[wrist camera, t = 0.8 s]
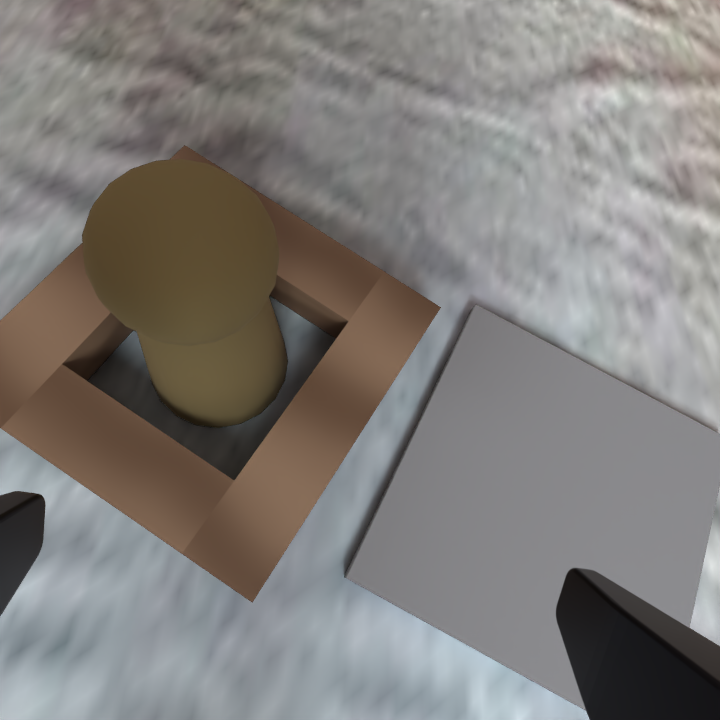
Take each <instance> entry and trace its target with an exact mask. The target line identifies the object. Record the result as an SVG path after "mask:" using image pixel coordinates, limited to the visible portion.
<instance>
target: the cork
mask: <svg viewBox="0 0 720 720" xmlns="http://www.w3.org/2000/svg"><path fill="white" fill-rule="evenodd" d="M82 241H83V257H84V265H85V271H86V274H87V276H88V278H89V280H90V282H91V284H92V287H93V289H94V291H95V293H96V295H97V297H98V298H99V300H100V301H101V302H102V304H103V305H104V306H105V307H106V308H107V309H108V310H109V311H110V312H111V313H112V314H113V315H114V316H115V317H116V318H117V319H118V320H119V321H121V322H122V323H123V324H124V325H125V326H126V327H128V328H130V329H132V330H134V331H137V334H138V337H139V341H140V344H141V347H142V351H143V354H144V358H145V361H146V365H147V368H148V371H149V375H150V378H151V382H152V384H153V386H154V388H155V390H156V392H157V394H158V396H159V398H160V400H161V402H162V403H163V404H164V405H165V406H166V407H167V408H168V409H169V410H171V411H172V412H173V413H174V414H175V415H176V416H177V417H180V418H182V419H184V420H186V421H188V422H190V423H193V424H195V425H199V426H207V427H215V428H220V427H226V426H232V425H237V424H241V423H243V422H245V421H247V420H249V419H251V418H253V417H255V416H257V415H259V414H261V413H262V412H263V411H264V410H265V409H266V408H267V407H268V406H269V405H270V404H271V403H272V402H273V401H274V400H275V399H276V397H277V395H278V393H279V391H280V389H281V387H282V385H283V383H284V381H285V377H286V370H287V363H288V359H287V354H286V349H285V343H284V340H283V337H282V334H281V331H280V328H279V325H278V322H277V319H276V316H275V313H274V310H273V307H272V304H271V301H270V298H269V295H270V293H271V292H272V290H273V288H274V286H275V282H276V276H277V270H278V264H279V247H278V242H277V236H276V231H275V227H274V224H273V222H272V220H271V218H270V216H269V214H268V213H267V211H266V209H265V208H264V206H263V204H262V203H261V201H260V199H259V198H258V196H257V195H256V194H255V193H254V192H253V191H251V190H250V189H249V188H248V187H247V186H246V185H244V184H243V183H242V182H241V181H240V180H239V179H237V178H236V177H234V176H233V175H231V174H229V173H227V172H225V171H223V170H221V169H219V168H216V167H214V166H212V165H210V164H208V163H202V162H196V161H191V160H185V159H175V160H161V161H154V162H151V163H148V164H145V165H142V166H139V167H136V168H133V169H131V170H129V171H128V172H126V173H125V174H123V175H122V176H120V177H119V178H117V179H116V180H114V181H113V182H111V183H110V184H109V185H108V186H107V188H106V189H105V190H104V191H103V193H102V194H101V195H100V197H99V198H98V199H97V200H96V202H95V203H94V205H93V206H92V208H91V210H90V213H89V216H88V219H87V222H86V225H85V228H84V231H83V234H82Z"/></svg>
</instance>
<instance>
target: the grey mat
mask: <svg viewBox="0 0 720 720" xmlns="http://www.w3.org/2000/svg"><path fill="white" fill-rule="evenodd" d="M719 487H720V434H719V433H717V432H715V431H713V430H712V429H710V428H708V427H706V426H704V425H702V424H700V423H698V422H696V421H695V420H693V419H691V418H689V417H687V416H685V415H683V414H681V413H680V412H678V411H676V410H674V409H672V408H670V407H668V406H666V405H664V404H663V403H661V402H659V401H657V400H655V399H653V398H651V397H649V396H648V395H646V394H644V393H642V392H640V391H638V390H636V389H634V388H632V387H631V386H629V385H627V384H625V383H623V382H621V381H619V380H617V379H616V378H614V377H612V376H610V375H608V374H606V373H604V372H602V371H600V370H599V369H597V368H595V367H593V366H591V365H589V364H587V363H585V362H583V361H582V360H580V359H578V358H576V357H574V356H572V355H570V354H568V353H567V352H565V351H563V350H561V349H559V348H557V347H555V346H553V345H551V344H550V343H548V342H546V341H544V340H542V339H540V338H538V337H536V336H535V335H533V334H531V333H529V332H527V331H525V330H523V329H521V328H519V327H518V326H516V325H514V324H512V323H510V322H508V321H506V320H504V319H503V318H501V317H499V316H497V315H495V314H493V313H491V312H489V311H487V310H486V309H484V308H482V307H480V306H478V305H475V306H474V307H473V308H472V310H471V312H470V314H469V316H468V318H467V320H466V322H465V324H464V326H463V328H462V331H461V333H460V335H459V337H458V339H457V341H456V343H455V345H454V347H453V349H452V352H451V354H450V356H449V358H448V360H447V362H446V364H445V366H444V368H443V370H442V373H441V375H440V377H439V379H438V381H437V383H436V385H435V387H434V389H433V391H432V394H431V396H430V398H429V400H428V402H427V404H426V406H425V408H424V410H423V413H422V415H421V417H420V419H419V421H418V423H417V425H416V427H415V429H414V431H413V434H412V436H411V438H410V440H409V442H408V444H407V446H406V448H405V450H404V452H403V455H402V457H401V459H400V461H399V463H398V465H397V467H396V469H395V471H394V473H393V476H392V478H391V480H390V482H389V484H388V486H387V488H386V490H385V492H384V494H383V497H382V499H381V501H380V503H379V505H378V507H377V509H376V511H375V513H374V516H373V518H372V520H371V522H370V524H369V526H368V528H367V530H366V532H365V534H364V537H363V539H362V541H361V543H360V545H359V547H358V549H357V551H356V553H355V555H354V558H353V560H352V562H351V564H350V566H349V568H348V570H347V572H346V574H345V576H344V577H345V578H347V579H349V580H351V581H352V582H354V583H356V584H358V585H360V586H361V587H363V588H365V589H367V590H369V591H370V592H372V593H374V594H376V595H378V596H380V597H381V598H383V599H385V600H387V601H389V602H390V603H392V604H394V605H396V606H398V607H399V608H401V609H403V610H405V611H407V612H408V613H410V614H412V615H414V616H416V617H418V618H419V619H421V620H423V621H425V622H427V623H428V624H430V625H432V626H434V627H436V628H437V629H439V630H441V631H443V632H445V633H446V634H448V635H450V636H452V637H454V638H456V639H457V640H459V641H461V642H463V643H465V644H466V645H468V646H470V647H472V648H474V649H475V650H477V651H479V652H481V653H483V654H485V655H486V656H488V657H490V658H492V659H494V660H495V661H497V662H499V663H501V664H503V665H504V666H506V667H508V668H510V669H512V670H513V671H515V672H517V673H519V674H521V675H523V676H524V677H526V678H528V679H530V680H532V681H533V682H535V683H537V684H539V685H541V686H542V687H544V688H546V689H548V690H550V691H551V692H553V693H555V694H557V695H559V696H561V697H562V698H564V699H566V700H568V701H570V702H571V703H573V704H575V705H577V706H579V707H580V708H582V709H584V710H586V709H585V706H584V703H583V701H582V698H581V695H580V692H579V689H578V686H577V683H576V680H575V677H574V673H573V670H572V667H571V664H570V661H569V658H568V655H567V652H566V649H565V646H564V643H563V640H562V636H561V633H560V630H559V627H558V624H557V620H556V606H557V602H558V599H559V596H560V593H561V590H562V586H563V583H564V580H565V577H566V574H567V572H568V571H569V570H570V569H572V568H583V569H590V570H594V571H596V572H598V573H600V574H601V575H603V576H605V577H606V578H608V579H610V580H611V581H613V582H615V583H616V584H618V585H619V586H621V587H623V588H624V589H626V590H628V591H629V592H631V593H633V594H634V595H636V596H638V597H639V598H641V599H643V600H644V601H646V602H648V603H649V604H651V605H652V606H654V607H656V608H657V609H659V610H661V611H662V612H664V613H666V614H667V615H669V616H671V617H672V618H674V619H676V620H677V621H679V622H681V623H682V624H684V625H685V626H687V627H689V628H690V623H691V618H692V613H693V609H694V604H695V599H696V595H697V590H698V585H699V581H700V576H701V571H702V566H703V562H704V557H705V552H706V548H707V543H708V538H709V534H710V529H711V524H712V519H713V515H714V510H715V505H716V501H717V496H718V491H719Z"/></svg>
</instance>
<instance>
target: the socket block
mask: <svg viewBox="0 0 720 720" xmlns="http://www.w3.org/2000/svg"><path fill="white" fill-rule="evenodd" d="M175 159H185V160H191V161H196V162H202V163H208V164H210V165H212V166H214V167H216V168H219V169H221V170H223V169H222V168H220V167H218V166H217V165H215V164H214V163H212V162H211V161H209V160H207V159H206V158H204V157H203V156H201V155H199V154H198V153H196V152H195V151H193V150H192V149H190V148H188V147H187V146H183V147H182V148H181V149H180V150H179V151H178V152H177V153H176V154H175V155H174V156H173V157H172V158H171V159H170V160H175ZM223 171H225V170H223ZM225 172H226V171H225ZM227 173H228V172H227ZM240 181H241V180H240ZM241 182H242V181H241ZM242 183H243V184H244V185H246V186H247V187H248V188H249V189H250V190H251V191H253V192H254V193H255V194H256V195H257V196H258V198H259V199H260V201H261V203H262V204H263V206H264V208H265V209H266V211H267V213H268V214H269V216H270V218H271V220H272V222H273V224H274V227H275V231H276V236H277V242H278V247H279V264H278V270H277V276H276V282H275V286H274V288H273V290H272V292H271V293H270V295H269V296H271V297H273V298H274V299H276V300H277V301H279V302H280V303H282V304H283V305H285V306H286V307H288V308H290V309H291V310H293V311H294V312H296V313H297V314H299V315H300V316H302V317H303V318H305V319H307V320H308V321H310V322H311V323H313V324H314V325H316V326H317V327H319V328H320V329H322V330H324V331H325V332H327V333H328V334H330V335H331V336H333V337H334V338H336V340H335V341H334V342H333V344H332V345H331V347H330V348H329V349H328V351H327V352H326V354H325V355H324V356H323V358H322V359H321V361H320V362H319V363H318V365H317V366H316V368H315V369H314V370H313V372H312V373H311V375H310V376H309V377H308V379H307V380H306V382H305V383H304V384H303V386H302V387H301V388H300V390H299V391H298V393H297V394H296V395H295V397H294V398H293V400H292V401H291V402H290V404H289V405H288V407H287V408H286V409H285V411H284V412H283V414H282V415H281V416H280V418H279V419H278V421H277V422H276V423H275V425H274V426H273V427H272V429H271V430H270V432H269V433H268V434H267V436H266V437H265V439H264V440H263V441H262V443H261V444H260V446H259V447H258V448H257V450H256V451H255V453H254V454H253V455H252V457H251V458H250V460H249V461H248V462H247V464H246V465H245V466H244V468H243V469H242V471H241V472H240V473H239V475H238V476H237V478H236V479H235V480H233V479H231V478H230V477H228V476H227V475H225V474H224V473H222V472H221V471H219V470H218V469H216V468H215V467H213V466H212V465H211V464H209V463H208V462H206V461H205V460H203V459H202V458H200V457H199V456H197V455H196V454H194V453H193V452H191V451H190V450H188V449H187V448H185V447H184V446H182V445H181V444H179V443H178V442H177V441H175V440H174V439H172V438H171V437H169V436H168V435H166V434H165V433H163V432H162V431H160V430H159V429H157V428H156V427H154V426H153V425H151V424H150V423H148V422H147V421H146V420H144V419H143V418H141V417H140V416H138V415H137V414H135V413H134V412H132V411H131V410H129V409H128V408H126V407H125V406H123V405H122V404H120V403H119V402H117V401H116V400H115V399H113V398H112V397H110V396H109V395H107V394H106V393H104V392H103V391H101V390H100V389H98V388H97V387H95V386H94V385H92V384H91V383H89V382H88V381H87V380H88V379H89V378H90V377H91V376H92V375H93V374H94V373H95V372H96V370H97V369H98V368H99V367H100V366H101V365H102V364H103V363H104V362H105V361H106V360H107V358H108V357H109V356H110V355H111V354H112V353H113V352H114V351H115V350H116V349H117V348H118V346H119V345H120V344H121V343H122V342H123V341H124V340H125V339H126V338H127V337H128V336H129V334H130V333H131V332H132V331H133V330H132V329H130V328H128V327H126V326H125V325H124V324H123V323H122V322H121V321H119V320H118V319H117V318H116V317H115V316H114V315H113V314H112V313H111V312H110V311H109V310H108V309H107V308H106V307H105V306H104V305H103V304H102V302H101V301H100V300H99V298H98V297H97V295H96V293H95V291H94V289H93V287H92V284H91V282H90V280H89V278H88V276H87V274H86V271H85V265H84V257H83V243H82V244H81V245H79V246H78V247H77V248H76V249H75V250H74V251H73V252H72V253H71V254H70V255H69V256H68V257H67V258H66V259H65V260H64V261H63V262H62V263H61V264H60V265H58V266H57V267H56V268H55V269H54V270H53V271H52V272H51V273H50V274H49V275H48V276H47V277H46V278H45V279H44V280H43V281H42V282H41V283H40V284H38V285H37V286H36V287H35V288H34V289H33V290H32V291H31V292H30V293H29V294H28V295H27V296H26V297H25V298H24V299H23V300H22V301H21V302H20V303H19V304H17V305H16V306H15V307H14V308H13V309H12V310H11V311H10V312H9V313H8V314H7V315H6V316H5V317H4V318H3V319H2V320H1V321H0V428H1V429H3V430H4V431H5V432H7V433H8V434H10V435H11V436H13V437H14V438H16V439H17V440H18V441H20V442H21V443H23V444H24V445H26V446H27V447H29V448H30V449H31V450H33V451H34V452H36V453H37V454H39V455H40V456H42V457H43V458H44V459H46V460H47V461H49V462H50V463H52V464H53V465H55V466H56V467H57V468H59V469H60V470H62V471H63V472H65V473H66V474H67V475H69V476H70V477H72V478H73V479H75V480H76V481H78V482H79V483H80V484H82V485H83V486H85V487H86V488H88V489H89V490H91V491H92V492H93V493H95V494H96V495H98V496H99V497H101V498H102V499H104V500H105V501H106V502H108V503H109V504H111V505H112V506H114V507H115V508H117V509H118V510H119V511H121V512H122V513H124V514H125V515H127V516H128V517H130V518H131V519H132V520H134V521H135V522H137V523H138V524H140V525H141V526H143V527H144V528H145V529H147V530H148V531H150V532H151V533H153V534H154V535H156V536H157V537H158V538H160V539H161V540H163V541H164V542H166V543H167V544H169V545H170V546H171V547H173V548H174V549H176V550H177V551H179V552H180V553H182V554H183V555H184V556H186V557H187V558H189V559H190V560H192V561H193V562H195V563H196V564H197V565H199V566H200V567H202V568H203V569H205V570H206V571H208V572H209V573H210V574H212V575H213V576H215V577H216V578H218V579H219V580H221V581H222V582H223V583H225V584H226V585H228V586H229V587H231V588H232V589H233V590H235V591H236V592H238V593H239V594H241V595H242V596H244V597H245V598H246V599H248V600H249V601H251V602H253V601H254V599H255V598H256V596H257V594H258V593H259V591H260V590H261V588H262V587H263V585H264V583H265V582H266V580H267V579H268V577H269V576H270V574H271V573H272V571H273V569H274V568H275V566H276V565H277V563H278V562H279V560H280V558H281V557H282V555H283V554H284V552H285V551H286V549H287V547H288V546H289V544H290V543H291V541H292V540H293V538H294V536H295V535H296V533H297V532H298V530H299V529H300V527H301V526H302V524H303V522H304V521H305V519H306V518H307V516H308V515H309V513H310V511H311V510H312V508H313V507H314V505H315V504H316V502H317V500H318V499H319V497H320V496H321V494H322V493H323V491H324V490H325V488H326V486H327V485H328V483H329V482H330V480H331V479H332V477H333V475H334V474H335V472H336V471H337V469H338V468H339V466H340V464H341V463H342V461H343V460H344V458H345V457H346V455H347V453H348V452H349V450H350V449H351V447H352V446H353V444H354V443H355V441H356V439H357V438H358V436H359V435H360V433H361V432H362V430H363V428H364V427H365V425H366V424H367V422H368V421H369V419H370V417H371V416H372V414H373V413H374V411H375V410H376V408H377V406H378V405H379V403H380V402H381V400H382V399H383V397H384V396H385V394H386V392H387V391H388V389H389V388H390V386H391V385H392V383H393V381H394V380H395V378H396V377H397V375H398V374H399V372H400V370H401V369H402V367H403V366H404V364H405V363H406V361H407V360H408V358H409V356H410V355H411V353H412V352H413V350H414V349H415V347H416V345H417V344H418V342H419V341H420V339H421V338H422V336H423V334H424V333H425V331H426V330H427V328H428V327H429V325H430V323H431V322H432V320H433V319H434V317H435V316H436V314H437V313H438V311H439V309H440V308H441V307H439V306H438V305H436V304H435V303H433V302H431V301H430V300H428V299H427V298H425V297H424V296H422V295H420V294H419V293H417V292H416V291H414V290H412V289H411V288H409V287H408V286H406V285H405V284H403V283H401V282H400V281H398V280H397V279H395V278H394V277H392V276H390V275H389V274H387V273H386V272H384V271H383V270H381V269H379V268H378V267H376V266H375V265H373V264H371V263H370V262H368V261H367V260H365V259H364V258H362V257H360V256H359V255H357V254H356V253H354V252H353V251H351V250H349V249H348V248H346V247H345V246H343V245H341V244H340V243H338V242H337V241H335V240H334V239H332V238H330V237H329V236H327V235H326V234H324V233H323V232H321V231H319V230H318V229H316V228H315V227H313V226H312V225H310V224H308V223H307V222H305V221H304V220H302V219H300V218H299V217H297V216H296V215H294V214H293V213H291V212H289V211H288V210H286V209H285V208H283V207H282V206H280V205H278V204H277V203H275V202H274V201H272V200H270V199H269V198H267V197H266V196H264V195H263V194H261V193H259V192H258V191H256V190H255V189H253V188H252V187H250V186H248V185H247V184H245V183H244V182H242Z"/></svg>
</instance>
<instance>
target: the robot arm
mask: <svg viewBox="0 0 720 720" xmlns="http://www.w3.org/2000/svg"><path fill="white" fill-rule="evenodd" d="M44 518H45V500H44V498H43V496H42V495H40V494H35V493H28V492H21V491H15V492H11V493H8V494H4V495H1V496H0V616H1V614H2V613H3V611H4V610H5V608H6V606H7V605H8V603H9V602H10V600H11V598H12V597H13V595H14V594H15V592H16V590H17V589H18V587H19V586H20V584H21V582H22V581H23V579H24V578H25V576H26V574H27V573H28V571H29V570H30V568H31V566H32V565H33V563H34V561H35V560H36V558H37V557H38V555H39V553H40V550H41V547H42V543H43V534H44ZM556 620H557V624H558V627H559V630H560V633H561V636H562V640H563V643H564V646H565V649H566V652H567V655H568V658H569V661H570V664H571V667H572V670H573V673H574V677H575V680H576V683H577V686H578V689H579V692H580V695H581V698H582V701H583V703H584V706H585V709H586V711H587V714H588V716H589V719H590V720H720V646H718V645H717V644H715V643H714V642H712V641H710V640H709V639H707V638H705V637H704V636H702V635H700V634H699V633H697V632H695V631H694V630H692V629H690V628H689V627H687V626H685V625H684V624H682V623H681V622H679V621H677V620H676V619H674V618H672V617H671V616H669V615H667V614H666V613H664V612H662V611H661V610H659V609H657V608H656V607H654V606H652V605H651V604H649V603H648V602H646V601H644V600H643V599H641V598H639V597H638V596H636V595H634V594H633V593H631V592H629V591H628V590H626V589H624V588H623V587H621V586H619V585H618V584H616V583H615V582H613V581H611V580H610V579H608V578H606V577H605V576H603V575H601V574H600V573H598V572H596V571H594V570H590V569H583V568H572V569H570V570H569V571H568V572H567V574H566V577H565V580H564V583H563V586H562V590H561V593H560V596H559V599H558V602H557V606H556Z"/></svg>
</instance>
